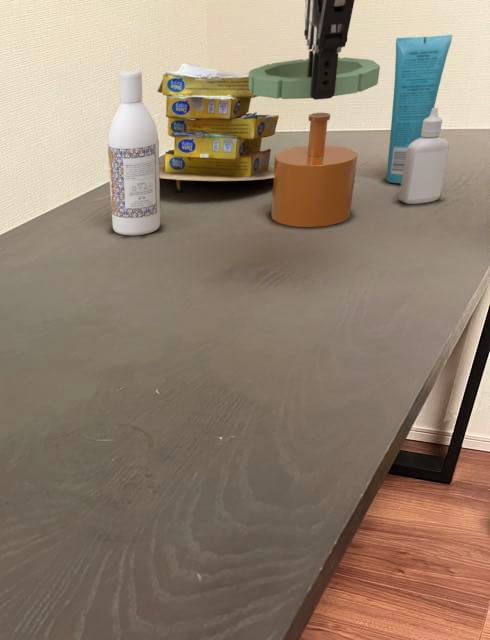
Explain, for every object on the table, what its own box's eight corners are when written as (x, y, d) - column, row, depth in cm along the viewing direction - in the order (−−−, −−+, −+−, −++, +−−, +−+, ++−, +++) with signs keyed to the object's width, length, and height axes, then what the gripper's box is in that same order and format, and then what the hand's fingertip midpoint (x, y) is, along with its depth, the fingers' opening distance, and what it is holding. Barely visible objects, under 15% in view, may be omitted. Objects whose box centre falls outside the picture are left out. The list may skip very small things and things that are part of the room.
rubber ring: (362, 70, 86) (364, 53, 85) (387, 92, 76) (390, 73, 75) (245, 80, 88) (245, 64, 87) (255, 103, 77) (255, 85, 76)
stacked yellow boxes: (181, 159, 144) (180, 53, 134) (309, 170, 132) (319, 54, 122) (104, 196, 130) (97, 80, 119) (240, 212, 117) (245, 84, 107)
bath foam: (120, 221, 118) (112, 68, 106) (165, 221, 116) (162, 65, 104) (107, 236, 113) (97, 77, 101) (153, 237, 111) (149, 75, 99)
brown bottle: (342, 201, 117) (354, 103, 109) (356, 224, 109) (370, 120, 101) (267, 206, 119) (273, 109, 110) (275, 229, 110) (282, 126, 102)
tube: (422, 174, 125) (447, 31, 113) (430, 183, 121) (457, 36, 109) (374, 177, 126) (393, 36, 114) (380, 186, 122) (401, 40, 110)
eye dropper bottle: (440, 205, 112) (458, 111, 105) (398, 204, 114) (413, 112, 107) (439, 196, 116) (456, 104, 108) (398, 196, 117) (412, 105, 110)
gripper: (405, -145, 61) (374, 106, 72) (367, -137, 72) (345, 80, 82) (306, -133, 62) (290, 113, 73) (283, -127, 72) (272, 87, 83)
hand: (319, 95), depth 77 cm, fingers closed on rubber ring, 2 cm apart
